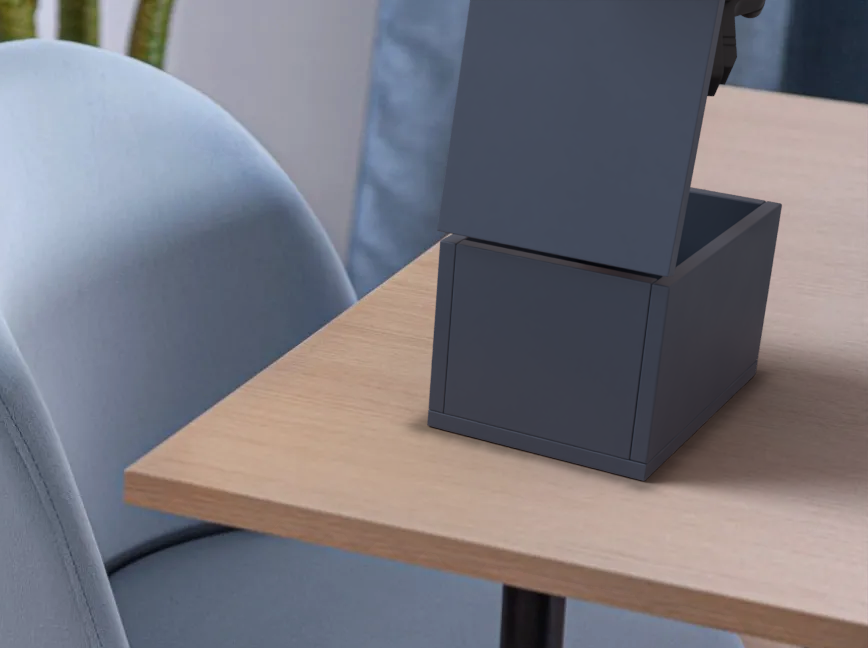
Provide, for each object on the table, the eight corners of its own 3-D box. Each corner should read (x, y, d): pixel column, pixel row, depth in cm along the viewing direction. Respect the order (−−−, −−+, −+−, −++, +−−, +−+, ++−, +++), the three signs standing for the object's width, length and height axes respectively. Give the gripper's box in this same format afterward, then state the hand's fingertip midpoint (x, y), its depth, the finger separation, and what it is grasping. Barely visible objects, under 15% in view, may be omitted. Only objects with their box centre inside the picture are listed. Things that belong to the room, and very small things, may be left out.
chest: (561, 331, 93) (578, 166, 89) (756, 374, 89) (782, 203, 85) (426, 425, 81) (439, 240, 77) (644, 481, 76) (669, 287, 72)
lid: (502, -173, 72) (445, -192, 67) (753, -150, 68) (711, -169, 63) (444, 229, 77) (387, 237, 72) (674, 275, 72) (629, 287, 68)
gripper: (496, -303, 79) (499, 26, 73) (814, -286, 79) (840, 42, 74) (476, -185, 86) (478, 123, 80) (768, -171, 86) (789, 136, 81)
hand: (651, 82), depth 77 cm, fingers closed on carrot, 4 cm apart
